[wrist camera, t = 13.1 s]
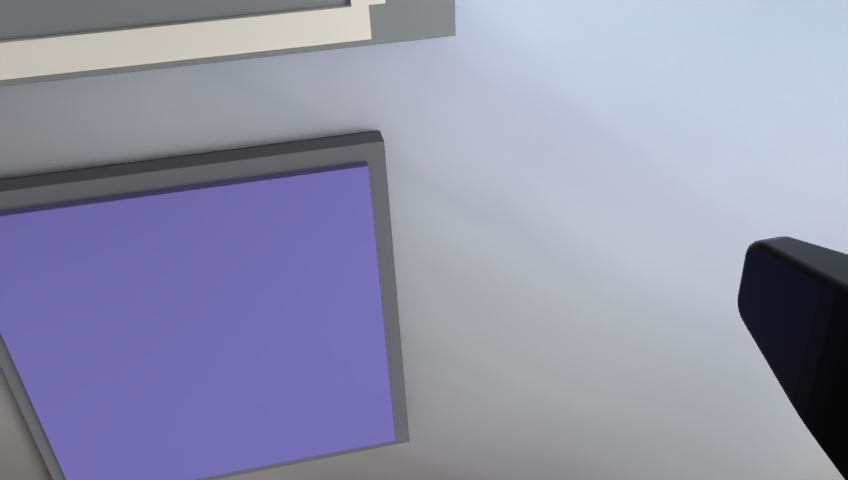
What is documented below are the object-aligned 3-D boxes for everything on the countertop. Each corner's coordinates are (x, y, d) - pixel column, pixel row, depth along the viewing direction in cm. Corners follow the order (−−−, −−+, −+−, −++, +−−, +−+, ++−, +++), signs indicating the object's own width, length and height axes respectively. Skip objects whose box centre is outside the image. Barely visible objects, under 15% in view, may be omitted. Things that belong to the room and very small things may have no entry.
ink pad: (405, 426, 26) (410, 448, 25) (70, 491, 24) (64, 516, 23) (379, 130, 20) (385, 145, 19) (-66, 188, 18) (-80, 208, 17)
